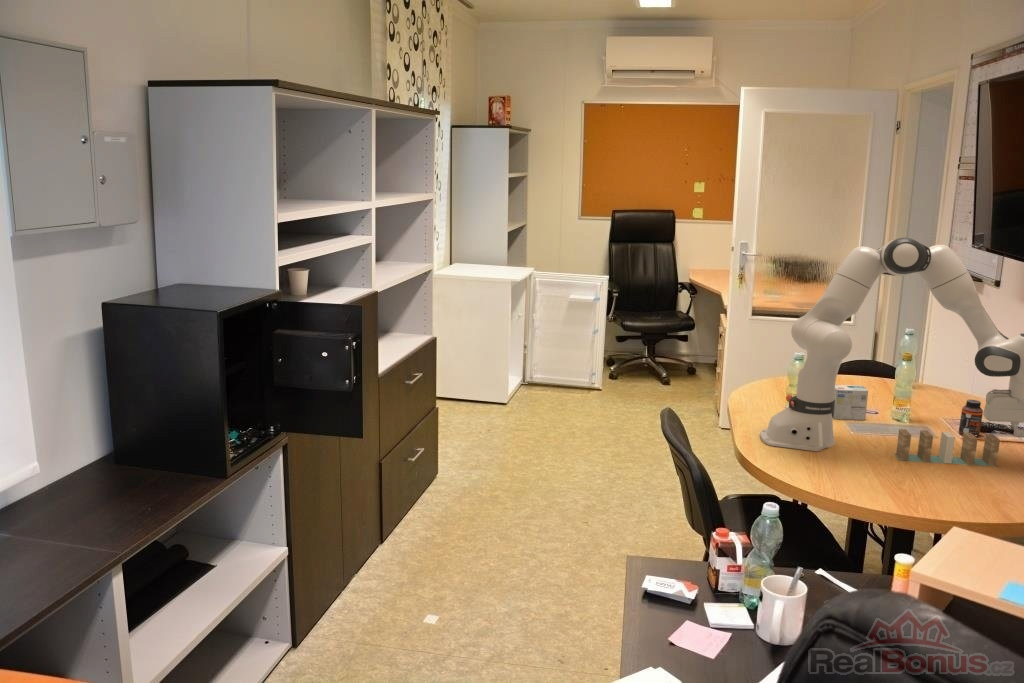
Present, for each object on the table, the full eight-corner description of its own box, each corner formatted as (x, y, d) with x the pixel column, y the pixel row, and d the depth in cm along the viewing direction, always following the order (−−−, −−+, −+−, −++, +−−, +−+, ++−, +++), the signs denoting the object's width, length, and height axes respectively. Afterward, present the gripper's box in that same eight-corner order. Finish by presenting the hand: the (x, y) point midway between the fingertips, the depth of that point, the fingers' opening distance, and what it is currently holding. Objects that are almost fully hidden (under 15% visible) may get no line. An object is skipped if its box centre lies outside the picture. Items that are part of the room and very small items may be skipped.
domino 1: (900, 460, 238) (904, 434, 236) (896, 454, 243) (899, 429, 241) (908, 460, 238) (911, 435, 236) (903, 454, 243) (906, 429, 241)
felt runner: (899, 461, 238) (899, 460, 238) (893, 454, 244) (893, 453, 244) (998, 467, 234) (998, 466, 234) (990, 460, 240) (990, 459, 239)
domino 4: (966, 464, 235) (970, 438, 234) (960, 458, 240) (963, 432, 238) (973, 464, 235) (977, 438, 233) (967, 458, 240) (971, 433, 238)
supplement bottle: (968, 438, 258) (973, 404, 256) (954, 432, 264) (958, 399, 261) (983, 436, 260) (988, 403, 257) (969, 430, 266) (973, 397, 263)
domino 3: (944, 462, 236) (947, 436, 235) (938, 456, 241) (941, 431, 239) (951, 463, 236) (955, 437, 234) (945, 457, 241) (948, 431, 239)
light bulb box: (859, 414, 282) (862, 384, 280) (866, 420, 275) (869, 390, 273) (828, 413, 283) (831, 383, 281) (833, 419, 276) (836, 389, 274)
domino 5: (988, 465, 234) (992, 439, 233) (982, 459, 239) (985, 433, 237) (996, 466, 234) (1000, 439, 232) (989, 459, 239) (993, 434, 237)
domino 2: (922, 461, 237) (925, 435, 235) (917, 455, 242) (920, 430, 240) (929, 462, 237) (933, 436, 235) (924, 455, 242) (927, 430, 240)
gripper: (991, 392, 229) (985, 438, 232) (1070, 395, 226) (1063, 441, 229) (982, 386, 235) (977, 431, 238) (1059, 388, 232) (1052, 434, 235)
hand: (1020, 436), depth 234 cm, fingers closed
